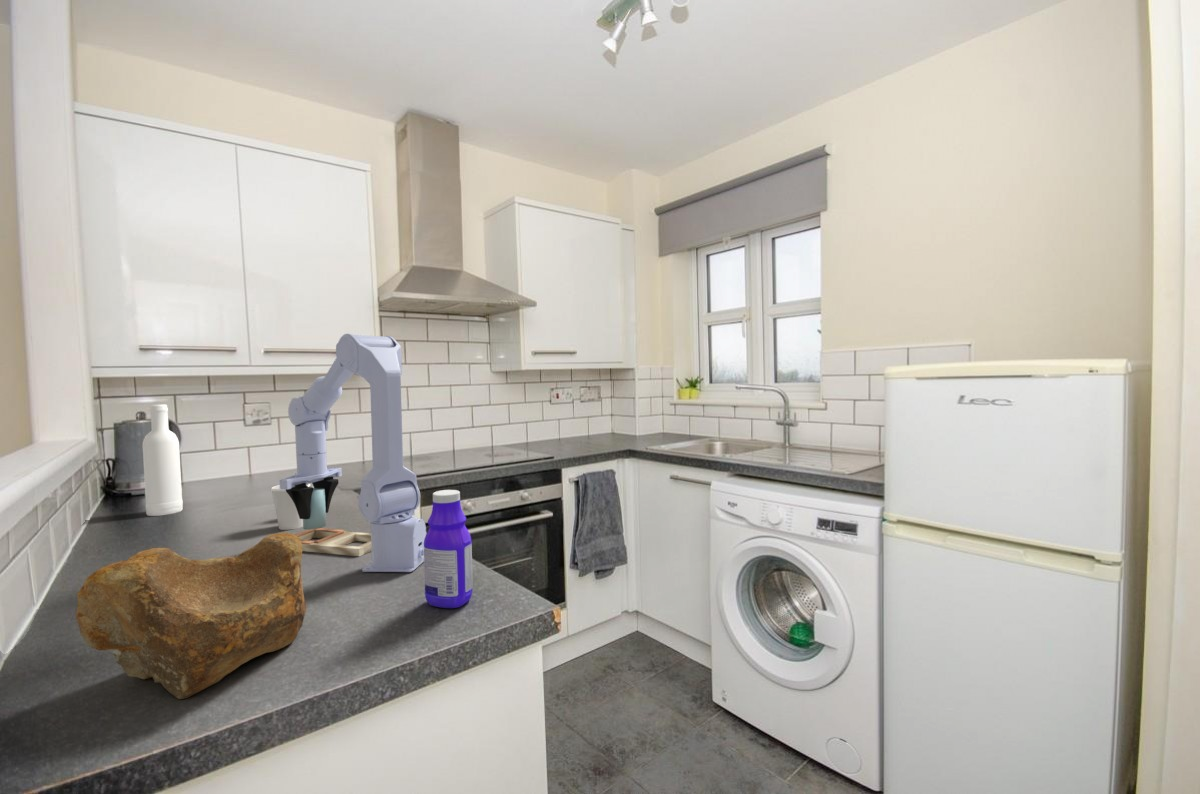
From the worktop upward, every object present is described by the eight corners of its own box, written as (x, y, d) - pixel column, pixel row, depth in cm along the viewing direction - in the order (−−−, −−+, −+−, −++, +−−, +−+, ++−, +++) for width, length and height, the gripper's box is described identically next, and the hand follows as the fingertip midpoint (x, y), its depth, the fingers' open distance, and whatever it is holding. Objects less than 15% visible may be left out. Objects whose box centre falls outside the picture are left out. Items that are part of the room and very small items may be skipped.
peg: (330, 523, 116) (329, 487, 116) (318, 529, 111) (316, 492, 111) (311, 523, 116) (309, 487, 116) (298, 529, 112) (297, 492, 112)
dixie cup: (274, 524, 130) (272, 484, 129) (312, 520, 134) (310, 481, 133) (270, 533, 122) (268, 491, 122) (311, 528, 126) (309, 486, 126)
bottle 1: (169, 508, 150) (163, 404, 149) (190, 509, 148) (184, 403, 147) (138, 515, 143) (132, 405, 142) (160, 516, 141) (153, 405, 140)
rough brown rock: (77, 759, 50) (74, 609, 49) (77, 677, 62) (75, 554, 61) (334, 668, 67) (337, 554, 66) (296, 617, 79) (298, 519, 77)
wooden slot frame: (391, 541, 114) (391, 533, 114) (359, 556, 105) (359, 547, 105) (315, 535, 120) (314, 527, 120) (278, 548, 111) (278, 540, 111)
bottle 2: (479, 597, 83) (476, 489, 83) (459, 613, 78) (454, 497, 77) (441, 592, 86) (437, 487, 85) (418, 607, 80) (414, 494, 80)
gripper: (323, 448, 121) (326, 506, 122) (266, 458, 108) (270, 523, 108) (348, 448, 119) (350, 508, 120) (293, 458, 105) (296, 525, 106)
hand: (314, 515), depth 114 cm, fingers closed on peg, 4 cm apart
